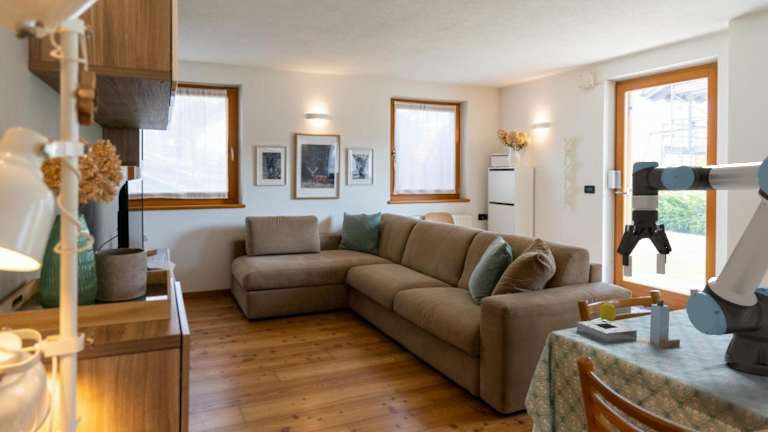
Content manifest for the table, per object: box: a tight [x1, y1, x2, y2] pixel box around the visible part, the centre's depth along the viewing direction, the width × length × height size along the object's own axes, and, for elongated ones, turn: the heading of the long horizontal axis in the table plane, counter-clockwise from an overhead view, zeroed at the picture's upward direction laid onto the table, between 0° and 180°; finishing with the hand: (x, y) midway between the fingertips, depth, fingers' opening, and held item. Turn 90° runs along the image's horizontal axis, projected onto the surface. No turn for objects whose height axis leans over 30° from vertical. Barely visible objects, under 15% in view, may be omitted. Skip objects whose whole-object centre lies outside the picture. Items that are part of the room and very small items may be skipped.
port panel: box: [576, 319, 638, 344], centre depth 171 cm, size 14×12×4 cm
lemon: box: [599, 301, 617, 322], centre depth 188 cm, size 6×6×8 cm
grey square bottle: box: [649, 299, 670, 345], centre depth 162 cm, size 4×4×14 cm
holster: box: [639, 337, 681, 349], centre depth 163 cm, size 9×7×3 cm
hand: (644, 275), depth 167 cm, fingers open, 13 cm apart
